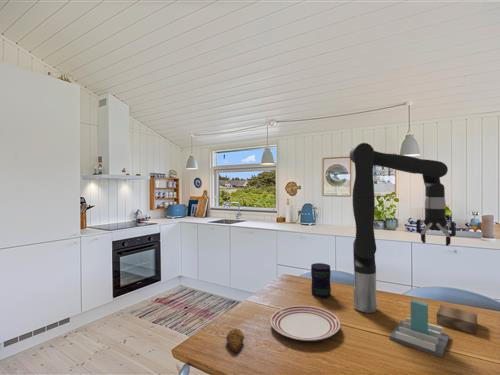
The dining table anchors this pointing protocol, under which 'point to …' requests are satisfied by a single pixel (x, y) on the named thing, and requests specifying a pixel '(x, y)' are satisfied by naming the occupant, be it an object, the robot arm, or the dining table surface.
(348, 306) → the dining table surface
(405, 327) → the slotted rack
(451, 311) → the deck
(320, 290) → the storage jar
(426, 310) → the block
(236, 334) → the brown oval lump
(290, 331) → the dinner plate
